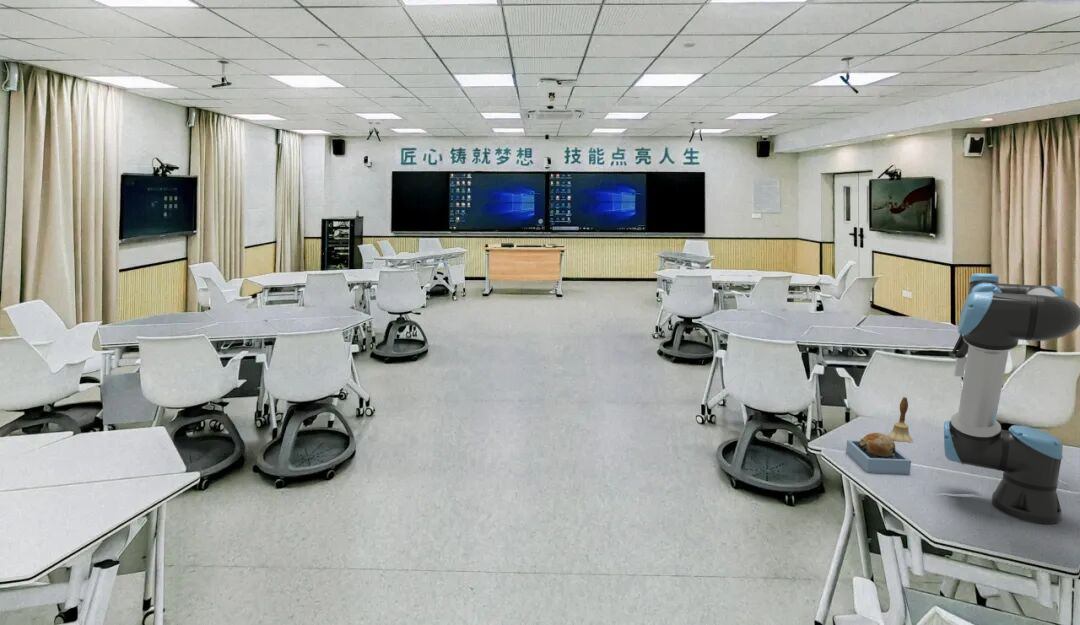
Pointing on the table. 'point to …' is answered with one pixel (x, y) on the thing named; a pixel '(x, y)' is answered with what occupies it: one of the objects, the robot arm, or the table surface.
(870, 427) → the table surface
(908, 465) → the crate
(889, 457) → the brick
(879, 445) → the bread roll
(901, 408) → the hand bell
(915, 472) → the table surface
